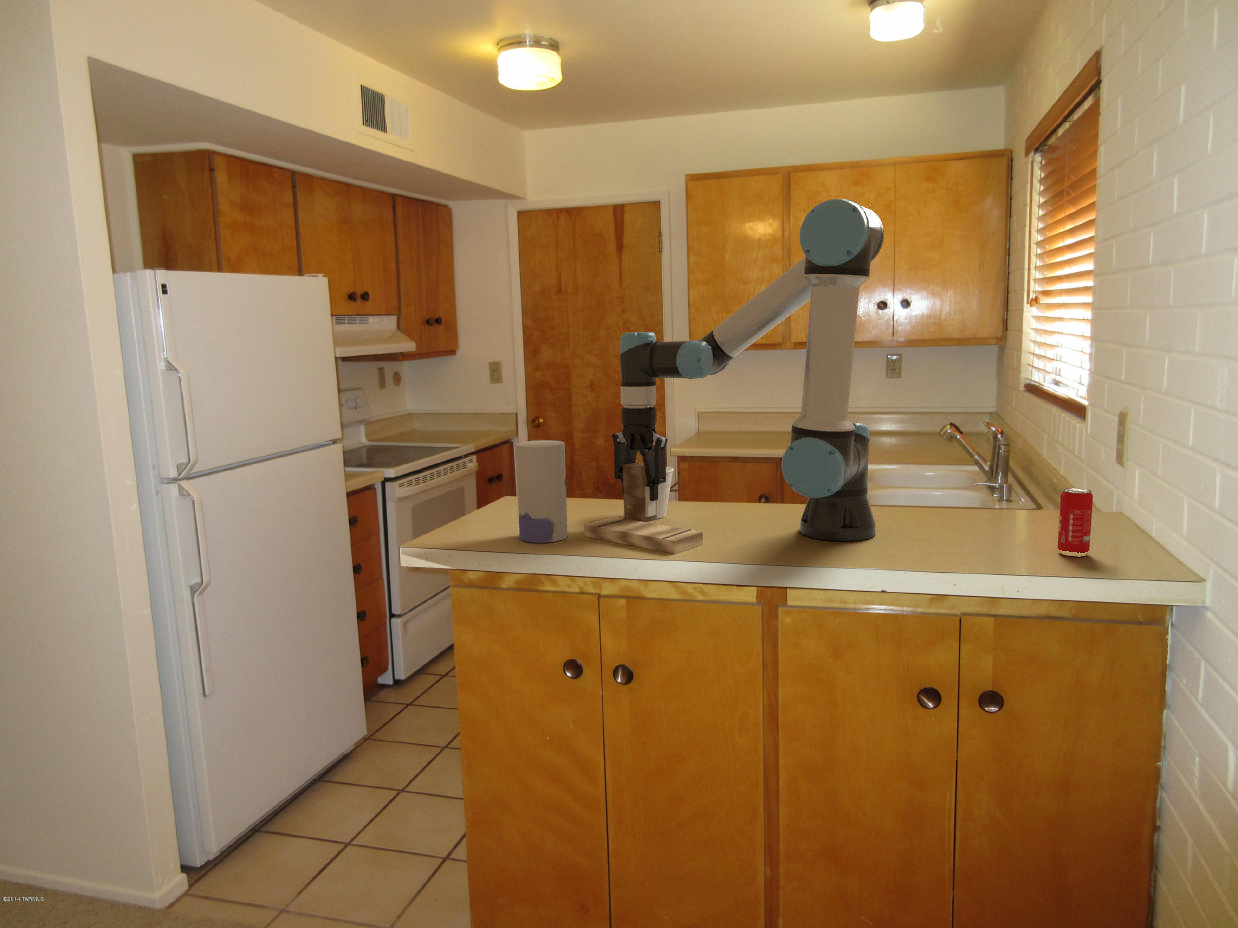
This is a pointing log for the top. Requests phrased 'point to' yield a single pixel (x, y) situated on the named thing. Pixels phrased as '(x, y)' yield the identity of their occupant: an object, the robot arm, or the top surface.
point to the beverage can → (1075, 520)
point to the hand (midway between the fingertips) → (640, 513)
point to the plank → (644, 534)
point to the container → (541, 491)
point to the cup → (664, 494)
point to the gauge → (635, 492)
